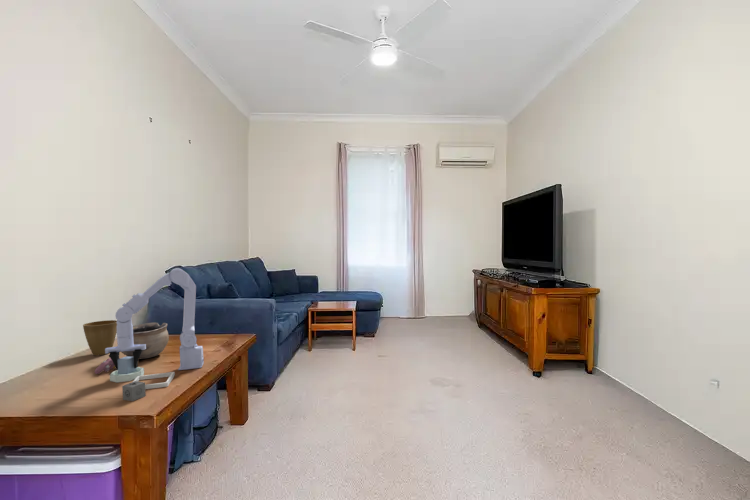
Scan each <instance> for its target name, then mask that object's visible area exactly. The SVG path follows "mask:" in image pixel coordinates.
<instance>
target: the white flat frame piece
mask: <svg viewBox="0 0 750 500" xmlns="http://www.w3.org/2000/svg"><path fill="white" fill-rule="evenodd" d="M175 374H176V373H175V371H170V372H161V373H153V374H143V375H142V376H137V377H136V379H134V380H132V382H134V381H138V382H140V381H144V380H150V379H162V378H167V377H168V378H167V380H166V381H165V382H157V383H147V384H145V390H151V389H158V388H165V387H166V388H167V387H169V385H170V384H171V382H172V380H173V379H174V377H175Z"/></svg>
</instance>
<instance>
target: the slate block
mask: <svg viewBox="0 0 750 500" xmlns="http://www.w3.org/2000/svg"><path fill="white" fill-rule="evenodd" d="M119 358H120V359H118V360H117V363H118V374H130V373H132V372H134V371H136V368H134V357H130V356H126V355H125V356H123V357H119Z"/></svg>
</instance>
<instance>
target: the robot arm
mask: <svg viewBox="0 0 750 500" xmlns="http://www.w3.org/2000/svg"><path fill="white" fill-rule="evenodd" d="M172 283H174V284H176V285H179V287H181V288H182V289H183V290H184V296H183V319H182V329H181V330H182V331H181V333H180V335H179V341H180V344H181V345H180V346H179V363H180V364H179V367H178V369H177V371H182V370H185V371H186V370H192V369H201V368H202V367H203V365H204V363H205V361H204V360H205V359H204V348H203V345H198V344H197V341H198V340H197V336H196V334H195V333H196V332H195V331H196V330H195V322H196V321H195V318H196V315H195V314H196V299H197V298H196V297H197V295H196V293H197V284H195V282H194V280H193V278H192V277H191V276H190V274H189V273H187V272H186V271H185V270H183V269H182V268H179V267H176V268H173V269H171V270H170V272H169V271H168V272H167V273H165V274H164V275H162V276H160V277H159V279H157V280H156V281H155V282H153V284H152V285H150V287H148V288H147V289H146V290H145V291H144V292H142V293H141V292H138V293H137V294H133V295H132V296H131V298H130V299H129V300H128V301H127V302H126V303H123V304H122V306H121V307H119V308H118V309H117V310H116V312H115V320H116V321H117V333H116V338H117V339H116V340H117V341H116V342H117V346H113V347H110V348H106V349H105V355H108V357H109V358H111V360H112V361H113V363H114V365H115V371H117V370H118V363H117V360H118V359H119V358H120V353H122V352H123V351H133V350H135V351H134V352H133V357H134V368H137V367H139V366H138V365H139V360H140V359H139V357H140V355H141V352H142V350H145V349H146V344H137V345H134V340H133V326H134V325H133V321H132V320H133V316H134V315H135V314H137V313H138V312H139V311H140V310H142V309H143V308H144V307H145V306H147V305H148V304H149V301H150V300H149V299H150V298H151V297H152V296H153V295H155V294H156V293H157V292H158V291H160V290H161V289H162V288H163V287H165V286H169V285H172ZM107 353H109V354H107Z"/></svg>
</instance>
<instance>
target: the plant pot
mask: <svg viewBox="0 0 750 500" xmlns="http://www.w3.org/2000/svg"><path fill="white" fill-rule="evenodd" d="M82 329H83V333H84V336H85V339H86V342H87V345H88V347H89V350H90V351H91V353H92V355H93V356H96V357H97V356H104V355H110V353H107V354H105V349H106V348H110V347H114V344H115V340H116V338H117V333H116V332H117V319H115V320H113V319H111V320H98V321H91V322H87V323H84V324H82Z"/></svg>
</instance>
